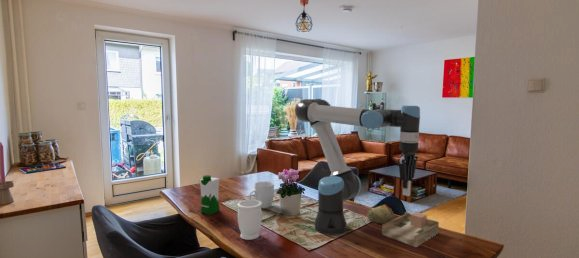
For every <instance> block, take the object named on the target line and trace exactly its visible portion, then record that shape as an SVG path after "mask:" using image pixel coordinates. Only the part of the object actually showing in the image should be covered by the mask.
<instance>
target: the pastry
mask: <svg viewBox="0 0 579 258" xmlns="http://www.w3.org/2000/svg"><path fill="white" fill-rule="evenodd" d="M366 213H367V214H366V216H367V219H368V220H369V221H370V222H372V223H374V224H381V225H383V224H385V223H387V222H389V221H391V220H394V219H396V216H395V213H394V212H393V210H392V208H391V207H390V206H388V205H387V204H382V205H379V206H375V207H372V208H371V209H368V211H367V212H366Z"/></svg>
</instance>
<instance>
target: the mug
mask: <svg viewBox="0 0 579 258" xmlns="http://www.w3.org/2000/svg"><path fill="white" fill-rule="evenodd" d="M253 193H254V198H255V199H254V200H258V201H260V202H261V203H262V205H261V209H268V208H270V207H271V206H272V204H273V202H274V197H275V183H274V182H271V181H257V182H255V183H254V189H253V190H252V189H251V191H250V192H249V193H248V200H252V198H251V197H252V194H253Z"/></svg>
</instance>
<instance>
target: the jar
mask: <svg viewBox="0 0 579 258" xmlns="http://www.w3.org/2000/svg"><path fill="white" fill-rule="evenodd" d="M261 205H262V203H261V202H260V201H258V200H255V199H251V200H249V199H245V200H240V201H239V202H237V205H236V206H237V208H238V210H237V223H238V229H239V231H240V238H241V239H243V240H246V241H247V240H248V241H249V240H250V241H251V240H255V239H258V238H259V237H260V234H261V233H260V230H261V227H262V220H263V213H262V212H263V211H262V208H261Z"/></svg>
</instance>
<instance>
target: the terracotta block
mask: <svg viewBox="0 0 579 258" xmlns="http://www.w3.org/2000/svg"><path fill="white" fill-rule="evenodd" d="M410 214H411V224H410V225H412V226H415V227H418V228H423V227H425V226H426V221H427V219H428V218H427V217H428V216H427V214H424V213H421V212H417V211H415V212H414V213H410Z"/></svg>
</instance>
